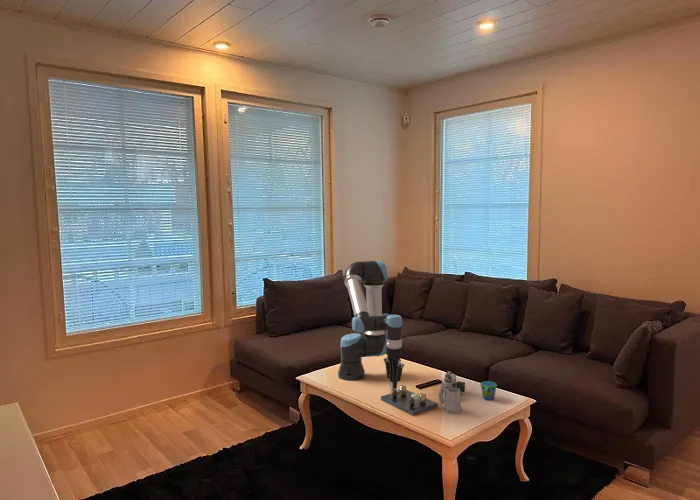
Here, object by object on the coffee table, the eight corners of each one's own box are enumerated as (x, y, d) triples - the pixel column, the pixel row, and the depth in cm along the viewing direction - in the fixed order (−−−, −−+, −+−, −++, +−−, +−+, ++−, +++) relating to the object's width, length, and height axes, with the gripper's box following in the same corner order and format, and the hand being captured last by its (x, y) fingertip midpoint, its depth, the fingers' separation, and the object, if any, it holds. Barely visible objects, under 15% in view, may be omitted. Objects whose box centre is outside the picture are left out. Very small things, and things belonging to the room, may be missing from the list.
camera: (464, 400, 245) (464, 380, 244) (443, 399, 247) (443, 379, 247) (465, 389, 260) (465, 370, 259) (445, 387, 263) (445, 369, 262)
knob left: (390, 397, 243) (390, 389, 243) (402, 392, 250) (402, 384, 250) (395, 399, 241) (395, 391, 241) (407, 394, 248) (407, 386, 248)
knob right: (407, 405, 233) (407, 397, 233) (422, 401, 239) (422, 392, 239) (412, 407, 231) (412, 399, 230) (427, 403, 236) (427, 394, 236)
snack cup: (485, 393, 254) (485, 378, 254) (500, 396, 250) (500, 381, 249) (476, 400, 245) (476, 385, 244) (492, 403, 240) (492, 388, 240)
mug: (455, 415, 228) (455, 389, 227) (434, 408, 236) (434, 383, 235) (464, 410, 233) (465, 385, 232) (444, 403, 241) (444, 379, 240)
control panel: (381, 400, 247) (380, 392, 246) (405, 393, 256) (405, 385, 255) (412, 415, 228) (412, 407, 228) (437, 407, 237) (437, 399, 237)
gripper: (379, 345, 246) (379, 391, 248) (396, 351, 236) (395, 399, 238) (391, 342, 250) (391, 388, 252) (408, 348, 240) (407, 396, 242)
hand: (393, 394), depth 245 cm, fingers closed
